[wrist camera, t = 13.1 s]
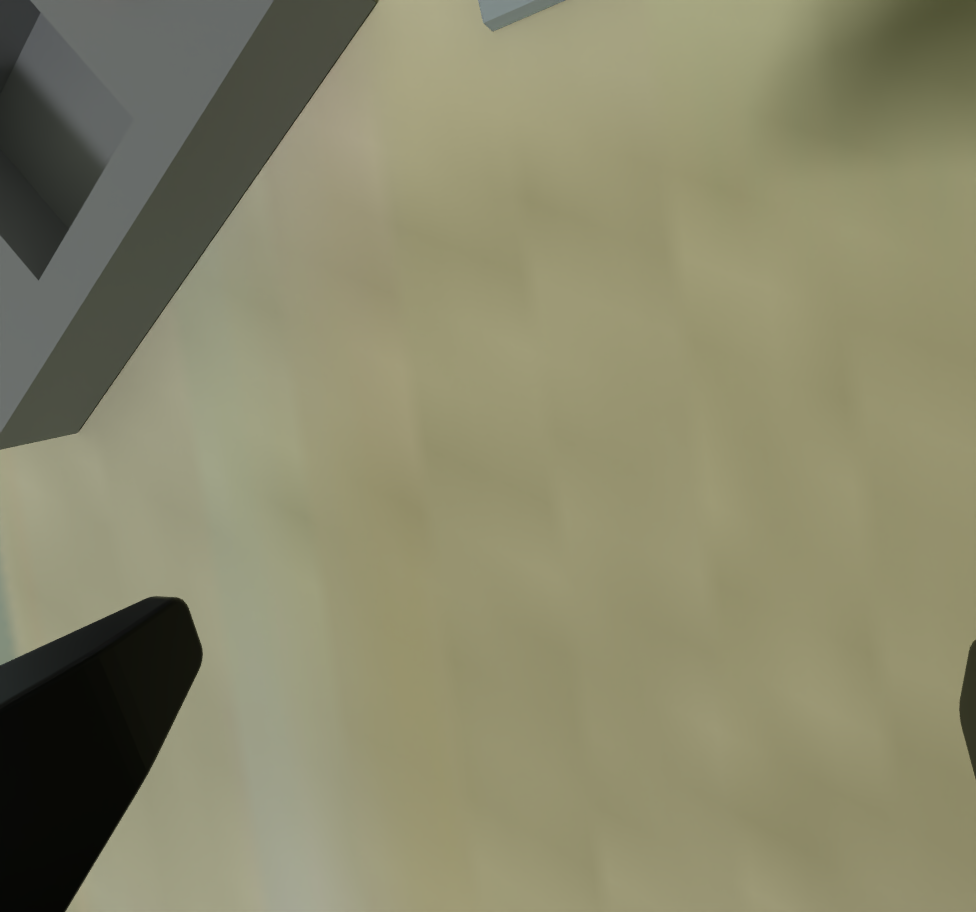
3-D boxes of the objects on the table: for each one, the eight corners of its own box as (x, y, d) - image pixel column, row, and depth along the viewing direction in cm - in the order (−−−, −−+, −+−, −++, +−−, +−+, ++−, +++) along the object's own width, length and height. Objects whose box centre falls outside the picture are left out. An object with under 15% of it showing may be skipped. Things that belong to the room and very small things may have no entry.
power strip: (141, -250, 19) (5, -366, 15) (375, 3, 18) (286, -61, 15) (-89, 232, 25) (-220, 224, 22) (77, 433, 24) (-33, 456, 21)
